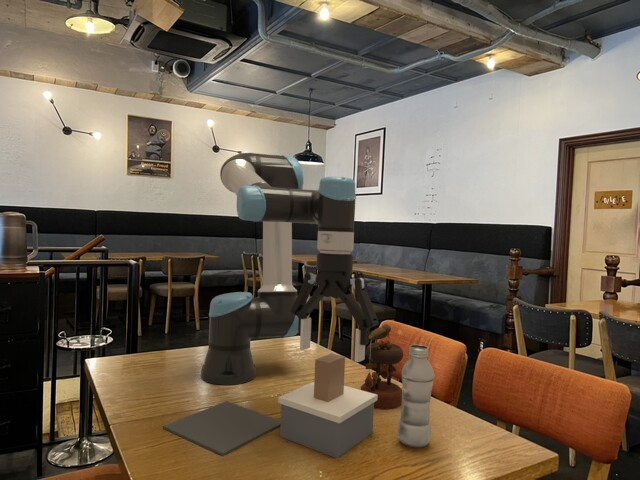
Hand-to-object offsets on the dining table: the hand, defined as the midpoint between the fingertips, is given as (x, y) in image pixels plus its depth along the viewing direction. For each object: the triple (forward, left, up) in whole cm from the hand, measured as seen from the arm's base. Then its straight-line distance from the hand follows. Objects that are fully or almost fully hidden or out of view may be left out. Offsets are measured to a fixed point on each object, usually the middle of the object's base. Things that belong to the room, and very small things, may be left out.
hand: (331, 354), depth 96 cm
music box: (0, +25, -17) cm, 31 cm away
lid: (0, 0, -10) cm, 10 cm away
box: (0, 0, -17) cm, 17 cm away
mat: (-19, -11, -17) cm, 28 cm away
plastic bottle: (+16, +8, -17) cm, 25 cm away
